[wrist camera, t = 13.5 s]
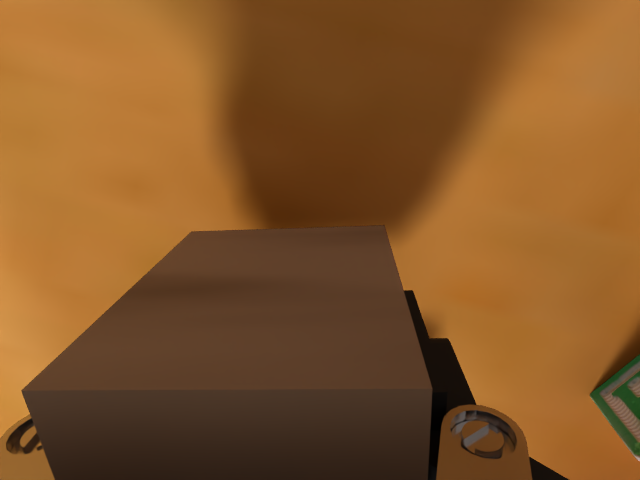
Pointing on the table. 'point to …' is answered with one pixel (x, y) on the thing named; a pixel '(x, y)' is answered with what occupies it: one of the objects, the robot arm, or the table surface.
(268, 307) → the block
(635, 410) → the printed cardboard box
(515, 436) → the robot arm
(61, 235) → the table surface
